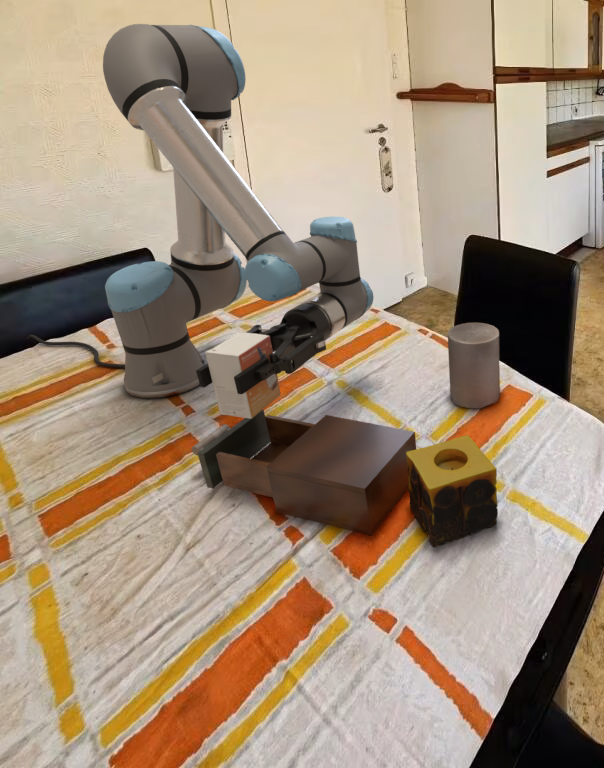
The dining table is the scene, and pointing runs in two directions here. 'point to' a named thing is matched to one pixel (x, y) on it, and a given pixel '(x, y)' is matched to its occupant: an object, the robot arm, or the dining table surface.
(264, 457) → the drawer
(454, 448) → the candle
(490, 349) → the grey upright cylinder
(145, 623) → the dining table surface
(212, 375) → the small box
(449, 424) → the dining table surface
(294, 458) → the cabinet
